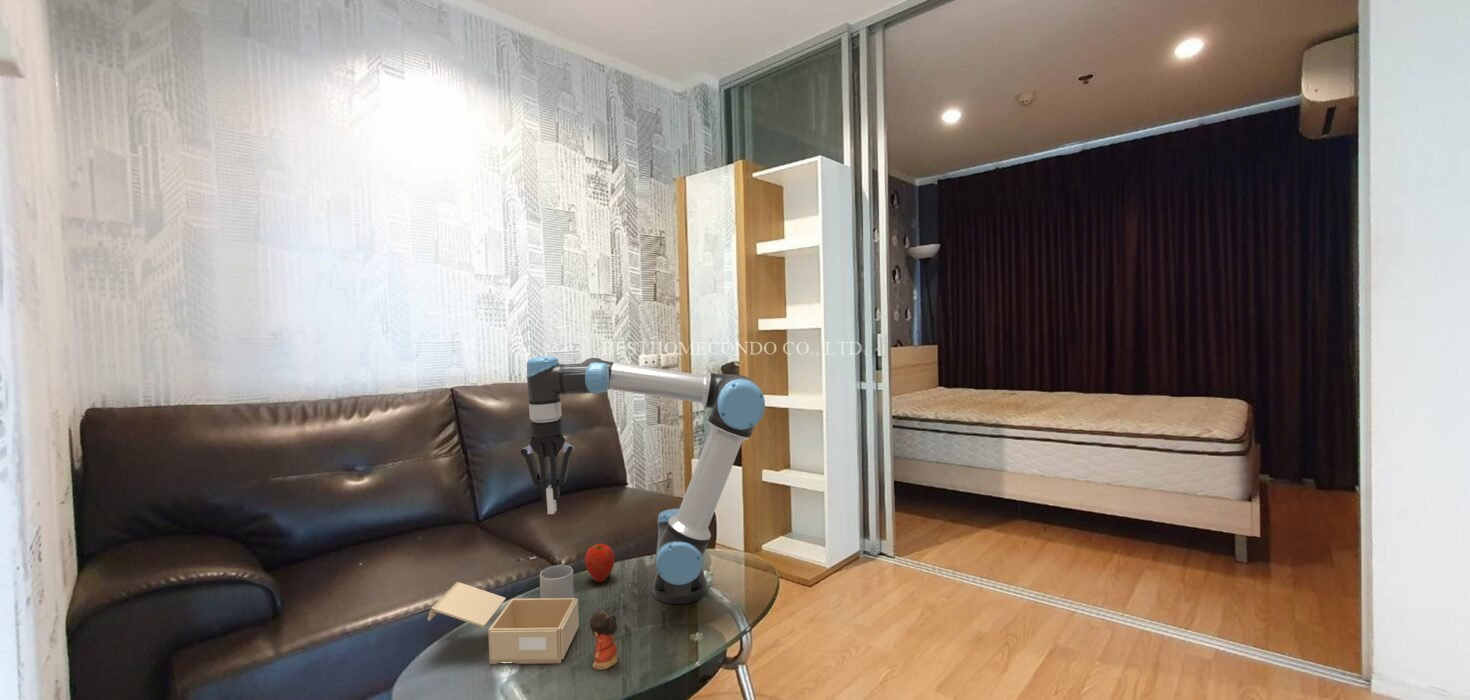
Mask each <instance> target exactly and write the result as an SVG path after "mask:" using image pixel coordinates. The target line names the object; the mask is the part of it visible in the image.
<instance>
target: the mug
mask: <svg viewBox="0 0 1470 700" xmlns="http://www.w3.org/2000/svg"><path fill="white" fill-rule="evenodd" d="M574 581H575V580H574V569H573V567H571V566H570V565H567V564H557V565H552V566H548V567H546V568H544V569H543V570H541V571H540V573H539V591H540V592H539V594H540V595H539V596H540V597H539V598H575V589H574V588H575V587H574V586H575V584H574V583H575V582H574Z"/></svg>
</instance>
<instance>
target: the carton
mask: <svg viewBox="0 0 1470 700" xmlns="http://www.w3.org/2000/svg"><path fill="white" fill-rule="evenodd" d="M579 615H580V614H579V599H578V598H577V597H576V598H575V597H574V598H540V597H538V598H530V597H529V598H511V599H510V601H509V602H508V603H507V604H506V606H505V607H504V609H502V611H501V613H500V614H499V615H498V617H496V619H495V621H493V623H492V624H491V626H490V627H489V628H488V655H489V659H488V661H489V665H498V664H497V663H501V662H512V663H517V664H516V665H524V664H525V665H528V664H529V665H530V664H531V665H532V664H534V665H535V664H536V665H537V664H538V665H539V664H540V665H541V664H562V662H563V660H564V659H565V656H566V654H567V652H568V651H569V648H570V646H571V643H572V642H573V640H574V637H575V635H576V634H577V631H578V628H579V627H580V623H579V621H580V619H579Z"/></svg>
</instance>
